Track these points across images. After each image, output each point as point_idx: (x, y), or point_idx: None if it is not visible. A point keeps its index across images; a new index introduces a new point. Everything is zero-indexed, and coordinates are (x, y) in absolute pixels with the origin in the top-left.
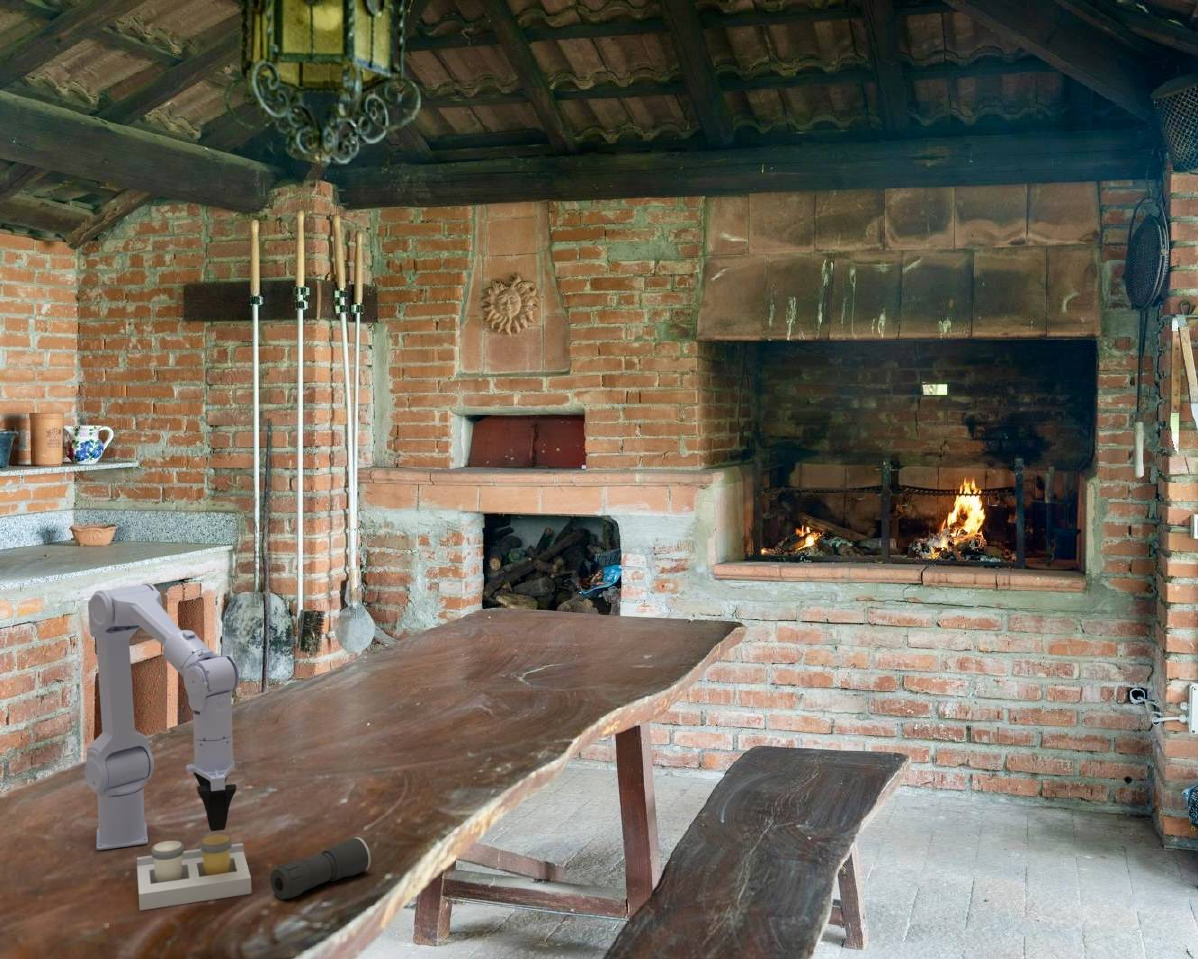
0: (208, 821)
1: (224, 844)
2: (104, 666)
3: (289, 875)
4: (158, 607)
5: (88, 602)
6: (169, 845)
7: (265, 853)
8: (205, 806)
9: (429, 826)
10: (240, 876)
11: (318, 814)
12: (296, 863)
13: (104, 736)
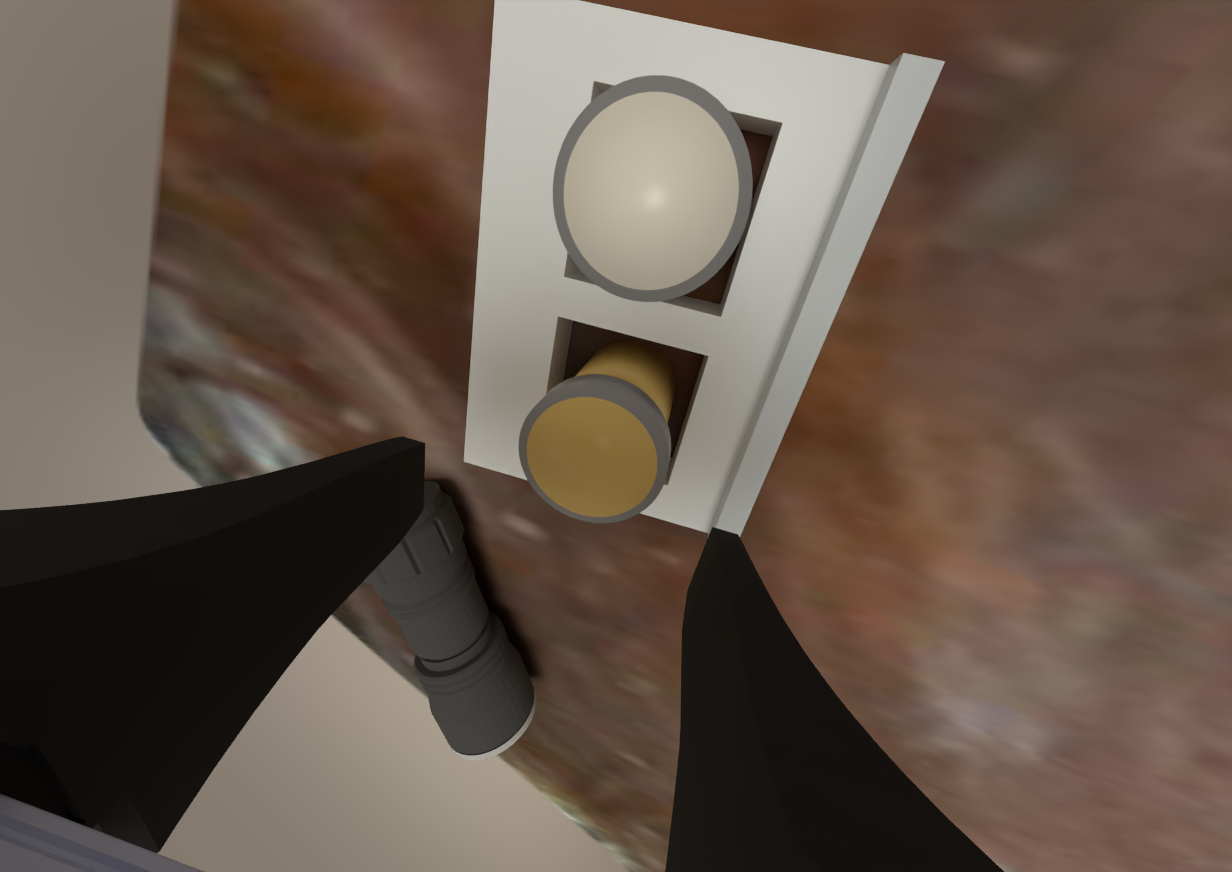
0: (340, 453)
1: (525, 469)
2: None
3: None
4: None
5: None
6: (644, 212)
7: (766, 585)
8: (164, 497)
9: (659, 851)
10: (490, 440)
11: (945, 792)
12: (385, 587)
13: None
